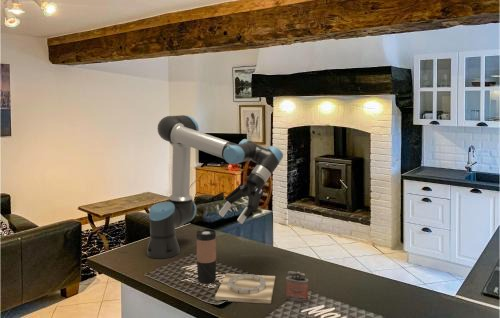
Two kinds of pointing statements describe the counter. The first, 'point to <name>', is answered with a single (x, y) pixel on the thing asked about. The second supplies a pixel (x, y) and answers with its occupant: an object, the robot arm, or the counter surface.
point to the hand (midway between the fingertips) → (229, 218)
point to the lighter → (297, 287)
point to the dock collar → (246, 290)
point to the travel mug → (206, 256)
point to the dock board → (259, 297)
